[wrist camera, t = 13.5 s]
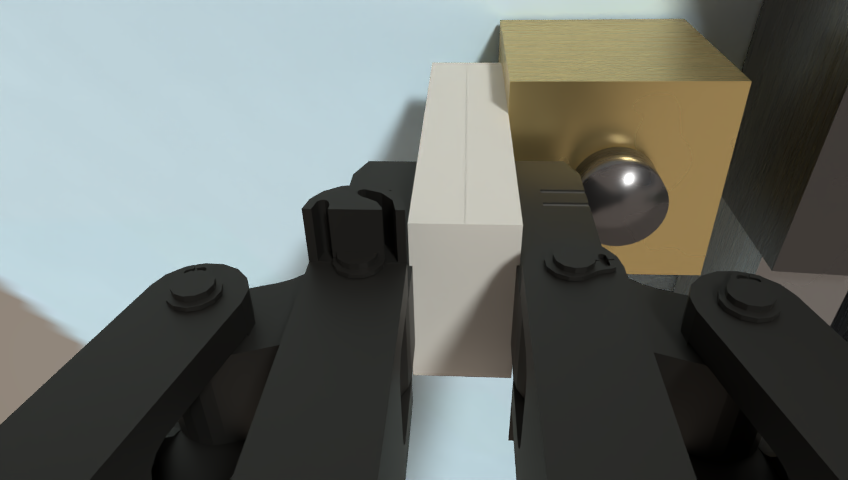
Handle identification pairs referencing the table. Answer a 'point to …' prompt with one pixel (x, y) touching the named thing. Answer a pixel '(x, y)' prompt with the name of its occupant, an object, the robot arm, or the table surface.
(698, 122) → the block
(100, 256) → the table surface
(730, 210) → the tong arm
